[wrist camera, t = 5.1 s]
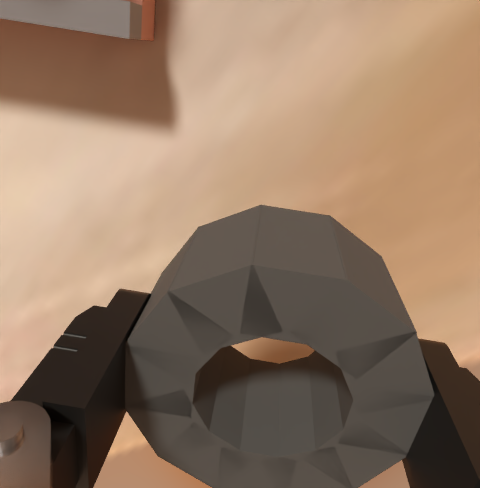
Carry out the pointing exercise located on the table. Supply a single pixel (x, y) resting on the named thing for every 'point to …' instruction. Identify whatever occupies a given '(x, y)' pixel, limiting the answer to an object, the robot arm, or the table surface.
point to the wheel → (273, 374)
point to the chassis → (87, 15)
